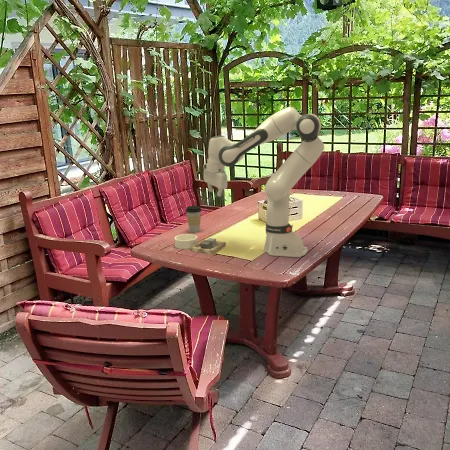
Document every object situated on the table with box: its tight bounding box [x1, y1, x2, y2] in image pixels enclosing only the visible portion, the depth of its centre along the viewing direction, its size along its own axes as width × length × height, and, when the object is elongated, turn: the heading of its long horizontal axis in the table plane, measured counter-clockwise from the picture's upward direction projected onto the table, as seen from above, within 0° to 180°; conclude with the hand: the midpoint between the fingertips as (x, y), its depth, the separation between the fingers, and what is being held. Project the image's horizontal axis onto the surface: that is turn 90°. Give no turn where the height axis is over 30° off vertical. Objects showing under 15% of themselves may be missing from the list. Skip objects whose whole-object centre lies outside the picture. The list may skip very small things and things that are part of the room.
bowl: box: [174, 233, 199, 250], centre depth 252 cm, size 12×12×6 cm
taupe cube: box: [205, 237, 217, 248], centre depth 248 cm, size 4×4×4 cm
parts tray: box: [190, 239, 227, 255], centre depth 246 cm, size 13×14×3 cm
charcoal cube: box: [200, 241, 211, 250], centre depth 243 cm, size 4×4×4 cm
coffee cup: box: [185, 205, 203, 234], centre depth 276 cm, size 9×9×15 cm
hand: (214, 194), depth 245 cm, fingers open, 8 cm apart
